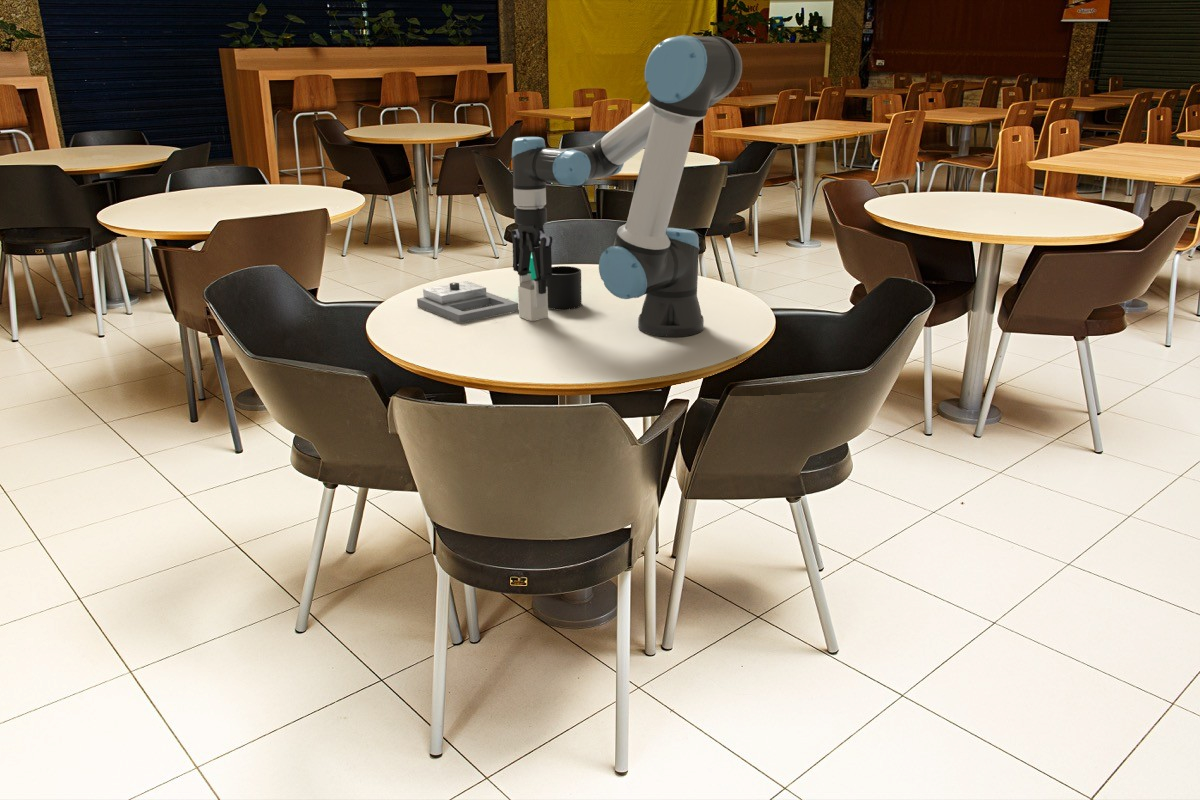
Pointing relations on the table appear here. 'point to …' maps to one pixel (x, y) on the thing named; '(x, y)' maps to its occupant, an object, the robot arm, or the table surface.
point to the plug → (530, 302)
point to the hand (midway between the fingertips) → (533, 303)
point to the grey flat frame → (470, 307)
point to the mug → (564, 288)
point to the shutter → (454, 292)
